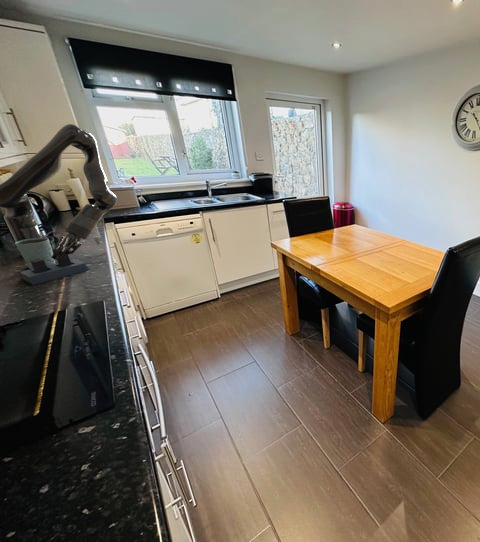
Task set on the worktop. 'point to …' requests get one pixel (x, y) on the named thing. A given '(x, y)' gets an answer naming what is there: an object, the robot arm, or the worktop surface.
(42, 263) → the mounted pad
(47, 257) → the drinking glass
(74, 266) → the pad mount
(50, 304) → the worktop surface
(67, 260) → the back pad
